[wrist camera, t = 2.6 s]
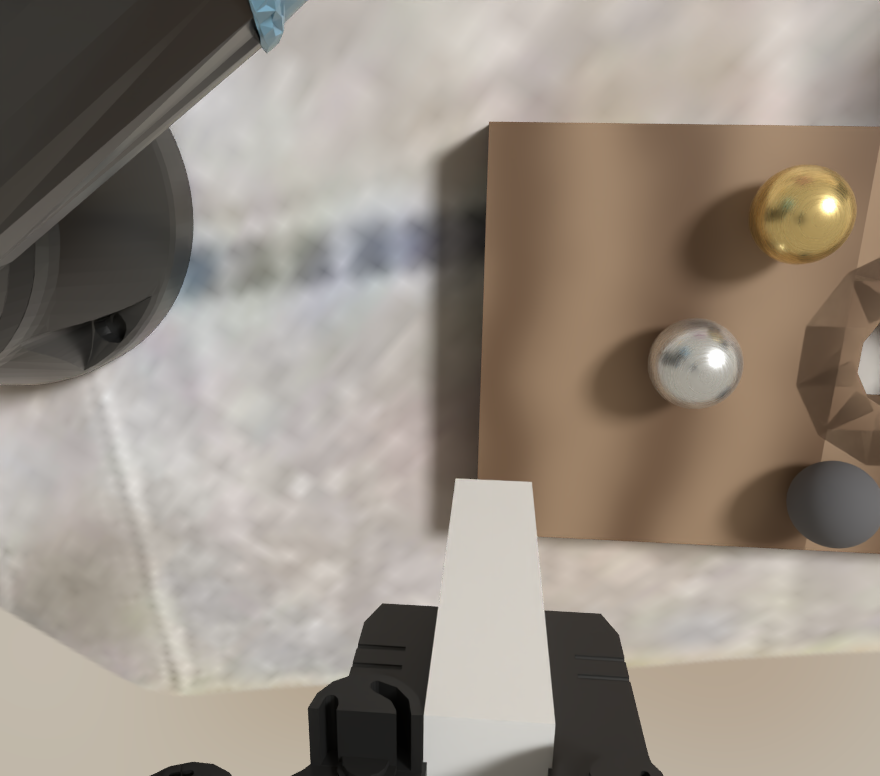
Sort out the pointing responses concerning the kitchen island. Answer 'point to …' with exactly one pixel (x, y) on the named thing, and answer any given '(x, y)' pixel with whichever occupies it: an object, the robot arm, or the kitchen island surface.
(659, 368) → the steel ball
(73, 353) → the robot arm
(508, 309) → the board
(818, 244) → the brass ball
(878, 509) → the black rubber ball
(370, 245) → the kitchen island surface
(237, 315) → the kitchen island surface
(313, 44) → the kitchen island surface
